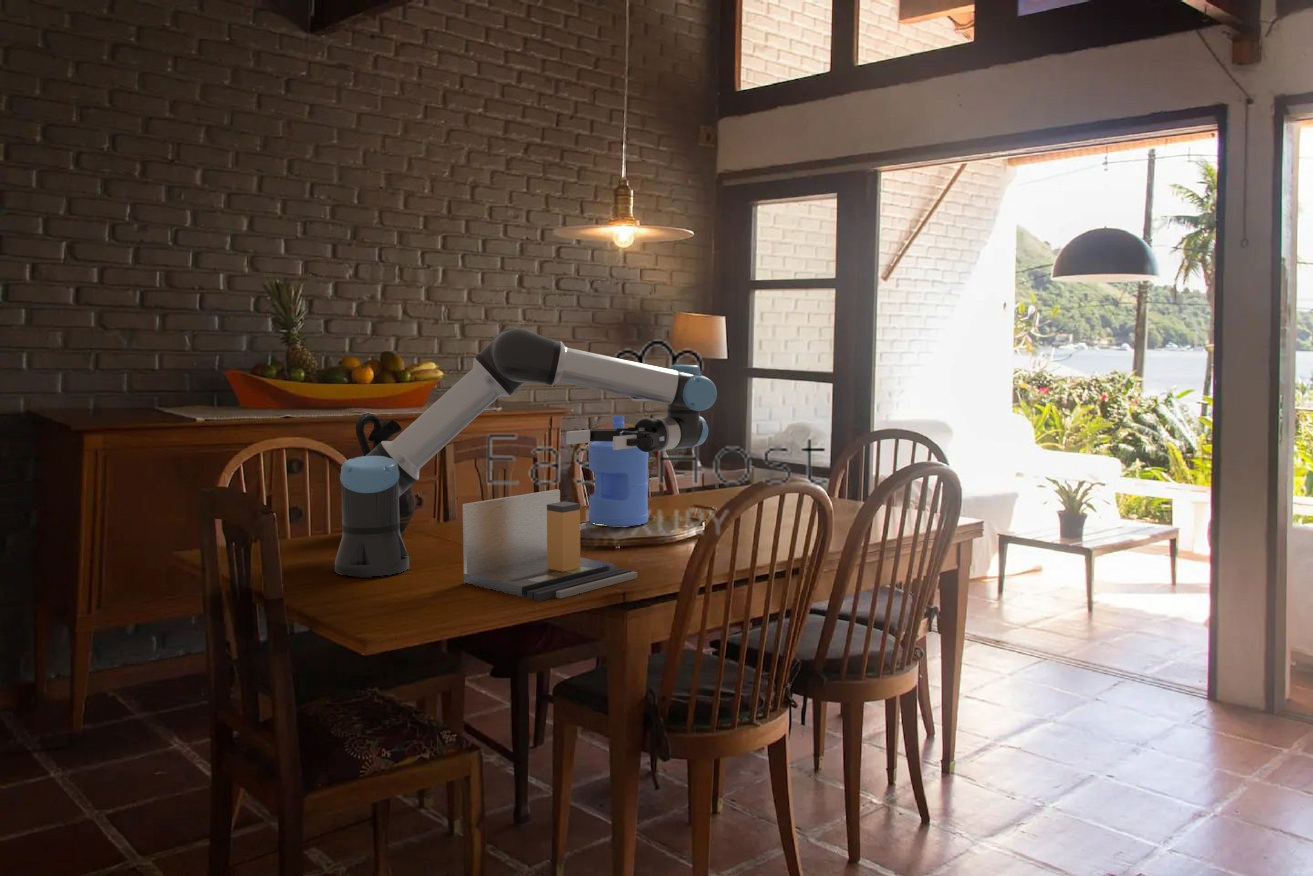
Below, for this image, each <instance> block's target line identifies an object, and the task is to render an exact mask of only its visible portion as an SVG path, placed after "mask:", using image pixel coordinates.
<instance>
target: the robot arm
mask: <svg viewBox="0 0 1313 876" xmlns="http://www.w3.org/2000/svg"><path fill="white" fill-rule="evenodd" d="M472 364H473V366H472V369H470V370H469V371H468V372H467V373H466V374H465V375H463V376H462V378H460V379H459V380H458V381H457V382H456V383H455V384H454V385H453V386H451V388H449V389H448V390H447V391H446V392H445V393H444V394H443V395H442V396H441V397H440V398H438V399H437V400H436V401H435V402H434V403H432V405H431V406H430V407H428V408H427V409H426V410H425V411H424V412H423V413H421V415H420V416H418V417H417V418H416V419H415V420H414V421H413V422H411V424H410V425H408V426H407V427H406V428H405V429H404V430H403V431H401V433H400V434H398V436H396V437H395V438H394V439H393V440H391V441H390V440H387V441H382V442H381V443H380V444H378V445H377V446H376V447H375V448H374V449H373V450H372V449H371V452H370V453H368V454H367V455H366V456H364V455H362V456H357V457H353V458H349V459H347V460H346V461H344V462H343V463H342V465H341V468H340V473H339V479H340V480H339V481H340V483H341V485H340V487H341V488H340V489H341V516H342V517H341V518H342V519H341V525H342V536H341V540H340V543H339V546H338V550H337V553H336V556H335V559H334V572H336V573H340V574H342V575H349V576H360V577H359V578H373V577H372V576H381V577H383V576H382V575H388V576H393V575H392V574H394V575H396V574H395V573H398V574H401V572H402V573H404V572H406V571H408V570H409V569H410V557H409V555H408V551H407V548H406V546H405V542H404V540H403V538H402V537H403V536H401V534H400V517H399V497H400V496H401V495H402V494H403V493H404V492H405V491H406V490H407V489H408V488H409V487H411V486H412V487H413V485H414V484H415V483H416V482H417V481H418V480H419V479H420V470H421V468H422V467H424V466H425V465H426V464H427V463H428V462H429V461H430V460H431V459H433V458H434V457H435V456H436V454H438V453H439V452H440V451H441V450H442V449H443V448H444V447H446V446H447V445H448V444H449V443H450V442H451V441H452V440H453V439H454V438H455V437H456V436H458V434H460V433H461V432H462V431H464V429H465V428H466V427H468V426H469V425H470V423H472V422H473V421H474V420H475V419H476V418H477V417H478V416H479V415H481V414H482V413H483V412H484V411H485V410H486V409H487V408H488V407H489V406H490V405H492V404H493V403H494V402H495V401H496V400H497V399H498V398H500V397H506V398H507V397H511V396H512V395H513V393H515V392H516V391H517V390H518V389H519V388H520V387H522V386H523V385H524V384H525V383H535V384H544V385H549V386H555V385H556V384H557V383H563V384H568V385H573V386H578V387H583V388H588V389H592V390H598V391H603V392H608V393H612V394H618V395H623V396H628V397H632V398H636V399H642V400H647V401H652V402H658V403H662V404H667V413H666V414H667V416H664V417H663V416H662V417H655V418H654V417H652V418H642V419H640V420H639V421H637V422H636V424H635V425H634V426H628V427H624V428H615V429H613V428H581V430H571V431H566V445H577V444H578V445H579V444H585V446H587V445H588V446H589V444H590V443H591V442H594V441H613V450H620V449H629V448H636V446H637V447H638V448H639V449H640V450H641V451H643V452H648V453H651V452H659V451H661V453H662V454H663V453H664V454H665V453H666V451H667V450H678V449H680V450H681V449H690V448H694V447H698V446H701V445H703V444H704V443H705V441H706V440H707V438H708V435H709V426H708V424H707V421H706V420H705V419H704V417H702V416H701V415H700V413H701V412H700V411H705V410H708V409H709V408H711V407H713V405H714V404H715V403H716V401H717V396H718V392H717V387H716V384H714V382H713V381H712V380H711V379H709V378H708V377H707V376H704V375H701V367H700V366H699V365H696V364H671V365H670V366H669V367H668V368H664V367H660V366H655V365H650V364H646V363H641V362H636V361H632V360H629V359H627V360H626V359H621V358H617V357H613V356H608V355H604V354H599V353H595V352H590V351H585V350H580V349H575V348H570V347H567V346H565V344H564V342H563V341H560V340H556V339H553V338H548V337H545V336H542V335H540V334H539V333H535V332H533V331H532V330H529V329H524V328H522V327H511V328H507V329H504V330H502V331H501V332H499V333H498V334H496V335H495V336H494V338H493V340H492V341H491V342H489V344H488V345H486V346H485V348H483V349H482V350H481V351H480V352H479V353H478V354H477V355H475V357H473V363H472ZM622 431H624V432H622ZM407 569H408V570H407ZM403 571H404V572H403ZM336 573H335V574H336ZM342 575H341V576H342Z"/></svg>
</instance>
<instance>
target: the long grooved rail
mask: <svg viewBox="0 0 1313 876" xmlns="http://www.w3.org/2000/svg"><path fill="white" fill-rule="evenodd" d="M635 579H638V572H637V571H632V569H628V568H627V569H625V568H623V567H619V568H615V569H614V570H610V571H606V572H602V573H598V574H594V575H590V576H586V577H582V578H578V579H574V580H570V581H566V582H562V583H558V584H554V585H550V586H546V587H542V588H538V589H534V590H530V591H527V596H526V597H527V598H528V599H527V600H531V601H536V602H542V601H545V600H549V599H552V598H556V599H563V598H564V599H565V598H569V597H572V596H575V595H579V593H580V594H583V593H586V592H589V591H590V592H591V591H594V590H597V589H598V590H599V589H602V588H605V587H609V586H612V585H613V586H614V585H617V584H620V583H623V582H624V583H625V582H628V581H632V580H635Z"/></svg>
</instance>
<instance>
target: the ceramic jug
mask: <svg viewBox="0 0 1313 876" xmlns="http://www.w3.org/2000/svg"><path fill="white" fill-rule="evenodd" d="M370 423H371V424H373V429H372V430H371V432H370V434H369V437H368V439H367V436H366V433H365V426H366V425H368V424H370ZM402 430H403V429H402V426H401V425H400V424H399V423H398V422H397V421H396V420H394V419H389V420H387V421H386V419H384V420H383V421H381V419H380V418H379V417H378V416H376V415H374V414H369V413H368V414H367V413H366V414H363V415H360V417H359V418H357V421H356V424H355V433H356V437H357V440H358V442H359V443H358V444H359V446H360V449H361V450H360V451H361V453H362V454H363V456H366V455H367V454H368V453H370V452H371V451H372V450H373V449H374V448H375V447H376V446H377V445H378V444H380V443H381V442H382V441H389V439H390V438H392V437H393V436H395V435H397V434H399V433H400V432H402ZM368 441H369V442H373V444H372V449H371V448H370V446H369V442H368ZM415 511H416V497H415V493H414V488H413V485H412V486H411V487H409V488H408V489H407V490H406V491H405V492H404V493H403V494H402V495H401V496H400V497H399V517H400V534H401V537H404V536H405V530H406V528H407V527H408V525H409V523H410V522H411V520H412V518H413V516H414V513H415ZM403 535H404V536H403Z"/></svg>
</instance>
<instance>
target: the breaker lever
mask: <svg viewBox="0 0 1313 876" xmlns="http://www.w3.org/2000/svg"><path fill="white" fill-rule="evenodd" d="M580 557H581V503H577V502H572V501H565V500H564V501H560V502H558V503H552V504H547V568H548V569H552V570H557V571H562V572H564V571H568V570H572V569H576V568H580Z"/></svg>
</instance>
